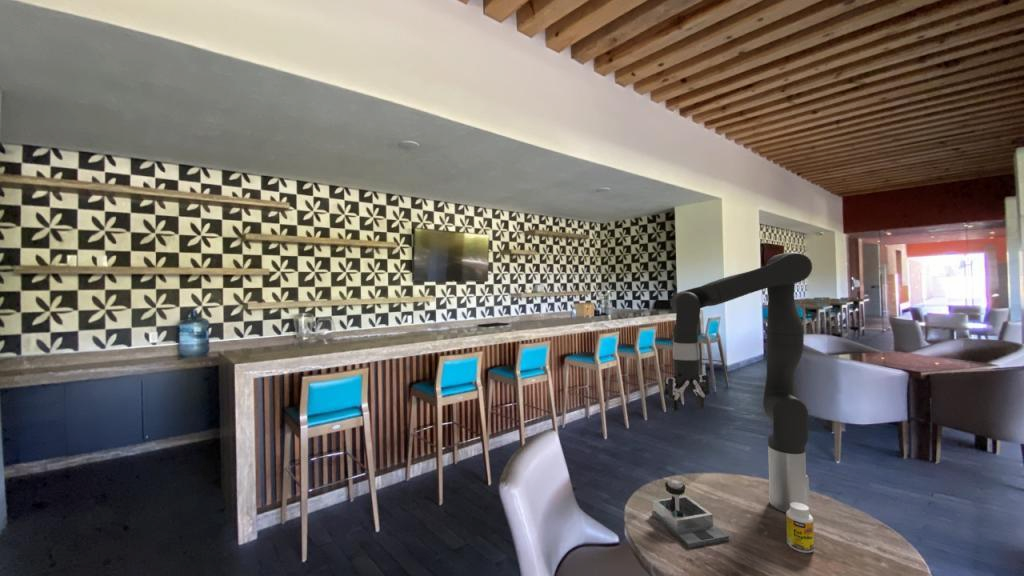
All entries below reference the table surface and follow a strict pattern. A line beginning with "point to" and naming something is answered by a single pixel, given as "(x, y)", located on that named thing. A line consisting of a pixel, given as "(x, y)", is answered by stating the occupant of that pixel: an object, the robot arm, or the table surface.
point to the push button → (675, 496)
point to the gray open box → (689, 523)
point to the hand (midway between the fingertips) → (687, 410)
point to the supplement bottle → (800, 528)
